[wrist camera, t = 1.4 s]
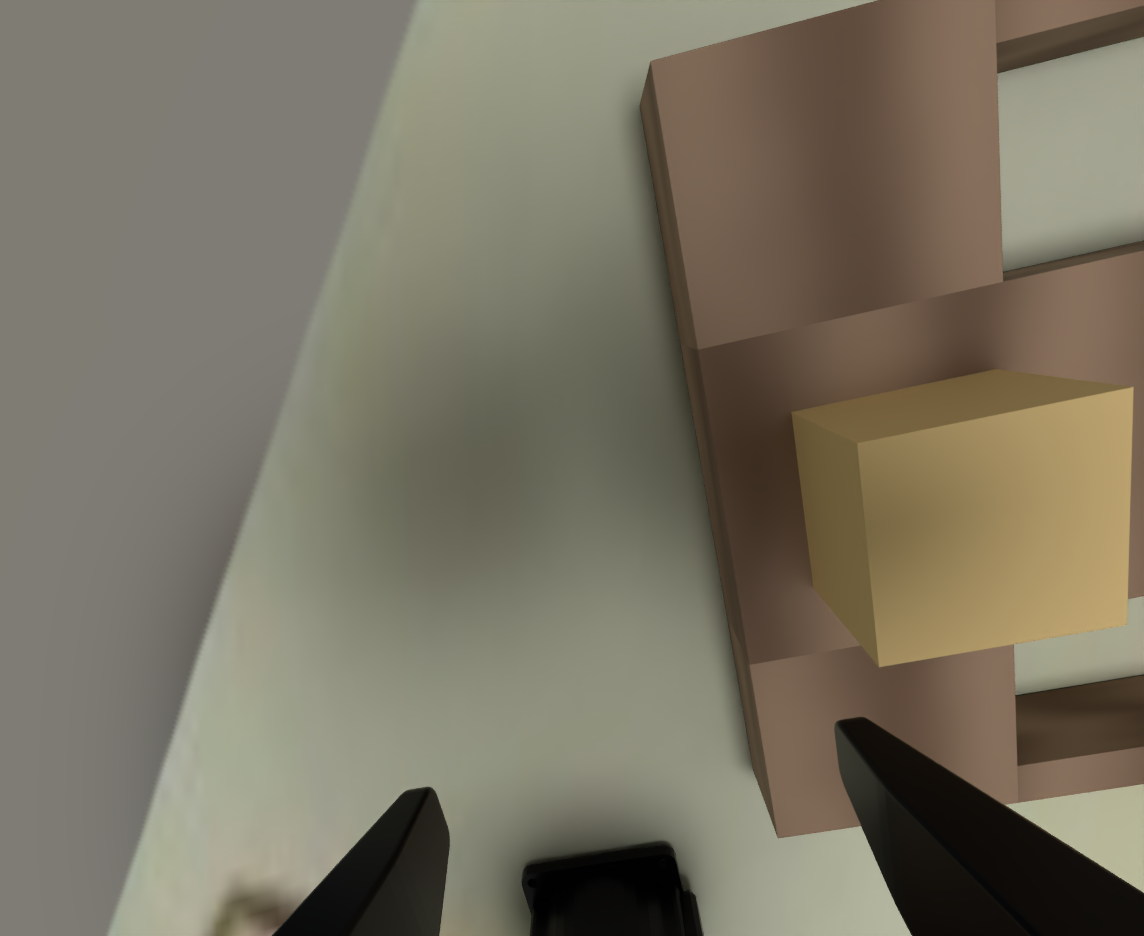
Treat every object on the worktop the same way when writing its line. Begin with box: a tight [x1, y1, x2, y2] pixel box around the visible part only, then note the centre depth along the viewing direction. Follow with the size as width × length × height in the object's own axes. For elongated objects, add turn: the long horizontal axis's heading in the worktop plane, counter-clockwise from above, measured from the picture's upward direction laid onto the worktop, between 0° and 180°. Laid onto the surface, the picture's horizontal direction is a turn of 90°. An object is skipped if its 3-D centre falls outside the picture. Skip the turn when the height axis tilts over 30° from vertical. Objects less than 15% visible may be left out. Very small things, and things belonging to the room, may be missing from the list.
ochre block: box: [791, 369, 1134, 667], centre depth 14 cm, size 6×6×4 cm
